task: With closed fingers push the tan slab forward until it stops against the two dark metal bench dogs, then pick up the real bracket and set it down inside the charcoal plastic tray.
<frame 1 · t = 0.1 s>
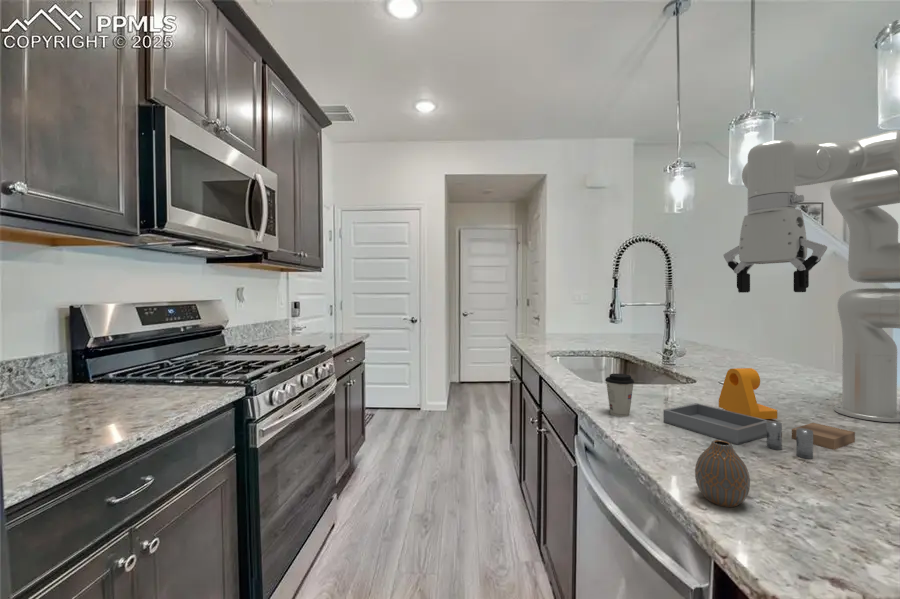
hand: (770, 292, 82), 31 cm above the countertop, fingers open, 9 cm apart
bracket: (747, 416, 103), on the countertop
tan slab: (822, 442, 86), on the countertop
bench dogs: (788, 451, 80), on the countertop
tray: (714, 428, 94), on the countertop
coffee cup: (619, 414, 105), on the countertop
vase: (721, 501, 62), on the countertop
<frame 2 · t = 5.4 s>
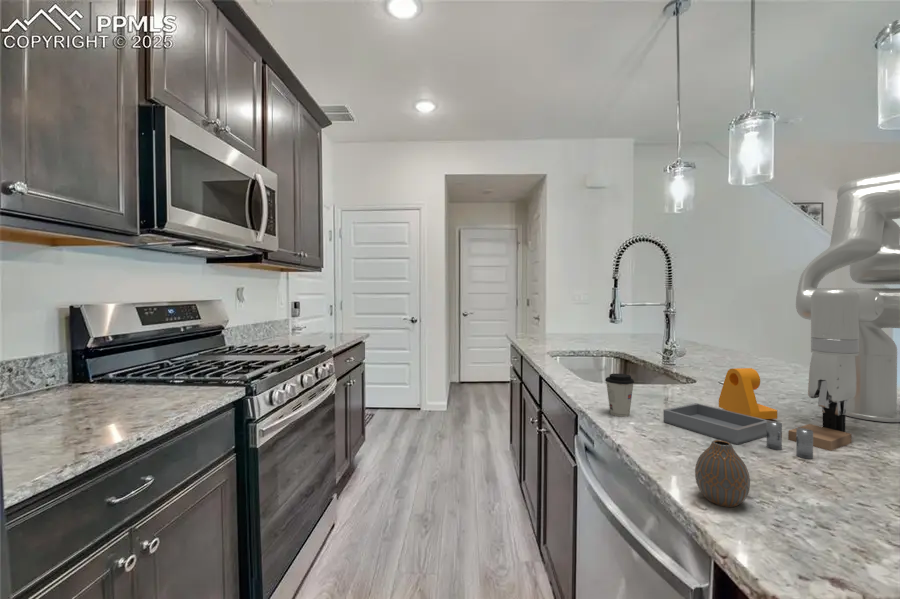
hand: (833, 431, 88), 1 cm above the countertop, fingers closed
tan slab: (819, 444, 85), on the countertop, touching gripper
everything else where it was.
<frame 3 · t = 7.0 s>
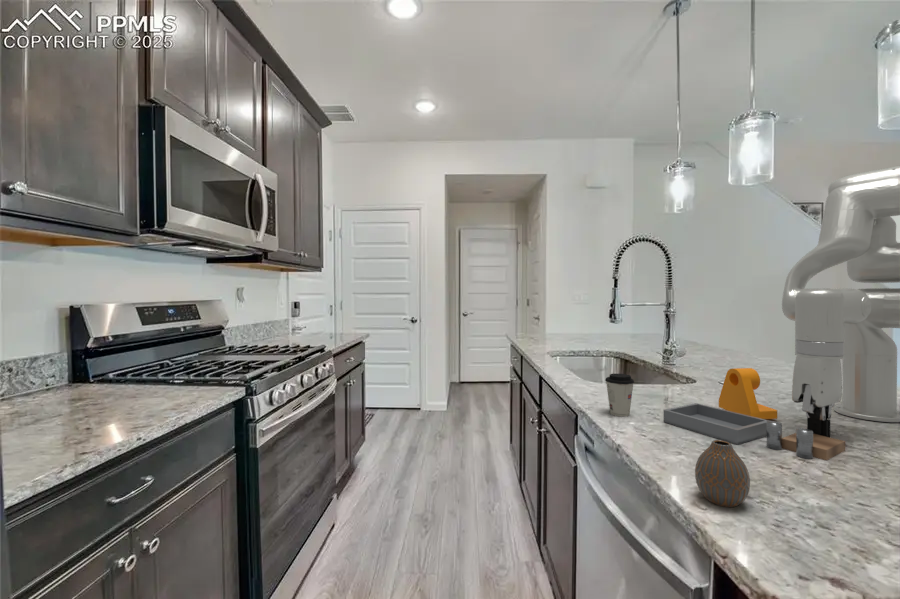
hand: (818, 437, 85), 1 cm above the countertop, fingers closed
tan slab: (812, 452, 81), on the countertop, touching gripper
everything else where it was.
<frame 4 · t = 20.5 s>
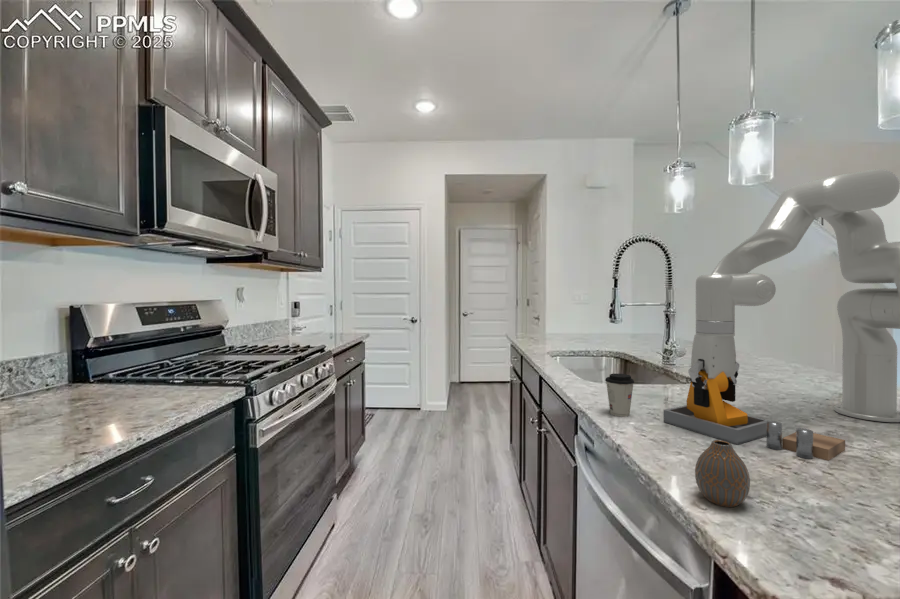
hand: (714, 403, 94), 6 cm above the countertop, fingers open, 9 cm apart
bracket: (716, 419, 94), point 2 cm above the countertop, touching gripper, tray
tan slab: (813, 451, 81), on the countertop
everything else where it was.
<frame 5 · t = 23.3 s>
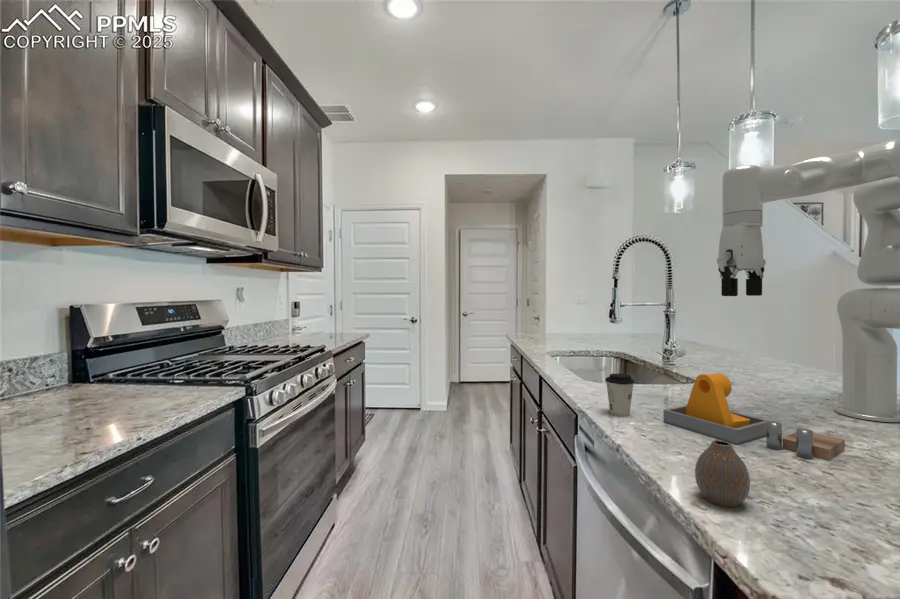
hand: (742, 295, 95), 30 cm above the countertop, fingers open, 9 cm apart
bracket: (717, 426, 94), resting in tray
everything else where it was.
at the end: bracket inside the target area on the tray (0.7 cm from its centre), point 0.3 cm above the tray's base; tan slab 1.5 cm from the target spot, on the countertop; the gripper is holding nothing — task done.
